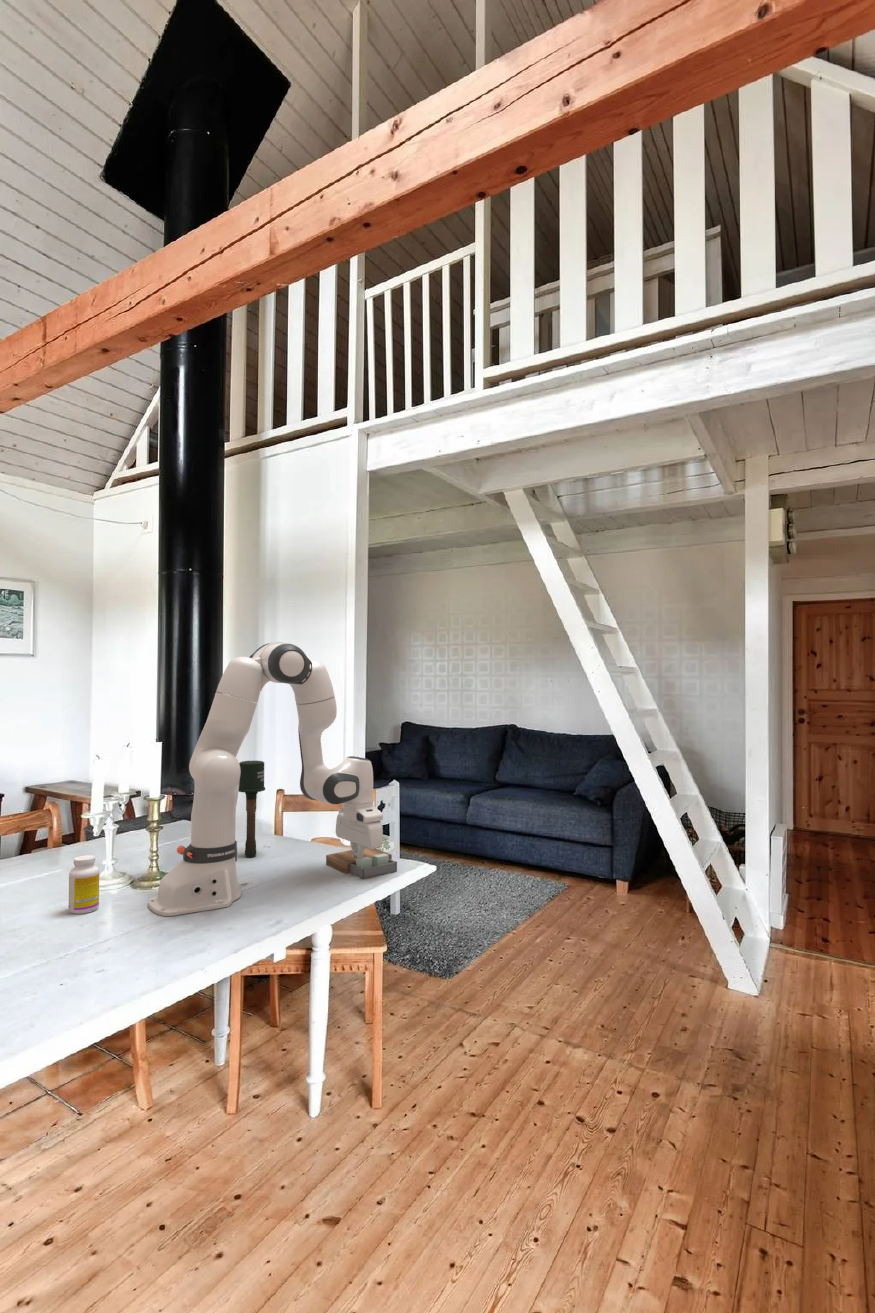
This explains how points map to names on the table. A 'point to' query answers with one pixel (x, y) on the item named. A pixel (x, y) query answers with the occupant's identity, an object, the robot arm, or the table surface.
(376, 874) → the tray
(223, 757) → the robot arm
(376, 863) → the tile
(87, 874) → the supplement bottle
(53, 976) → the table surface
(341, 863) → the board
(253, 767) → the potato masher grenade
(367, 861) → the tile
